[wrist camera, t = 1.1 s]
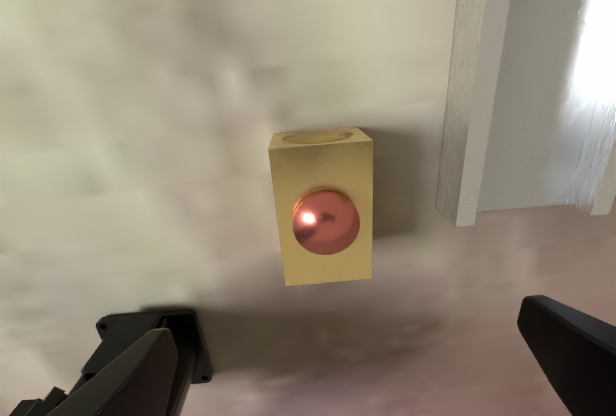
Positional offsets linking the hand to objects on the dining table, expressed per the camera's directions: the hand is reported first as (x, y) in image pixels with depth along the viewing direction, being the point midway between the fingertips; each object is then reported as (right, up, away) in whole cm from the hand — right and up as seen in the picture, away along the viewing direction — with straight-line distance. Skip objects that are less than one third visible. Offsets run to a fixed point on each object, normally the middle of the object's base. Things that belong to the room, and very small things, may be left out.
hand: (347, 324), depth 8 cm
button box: (0, +4, +10) cm, 11 cm away
